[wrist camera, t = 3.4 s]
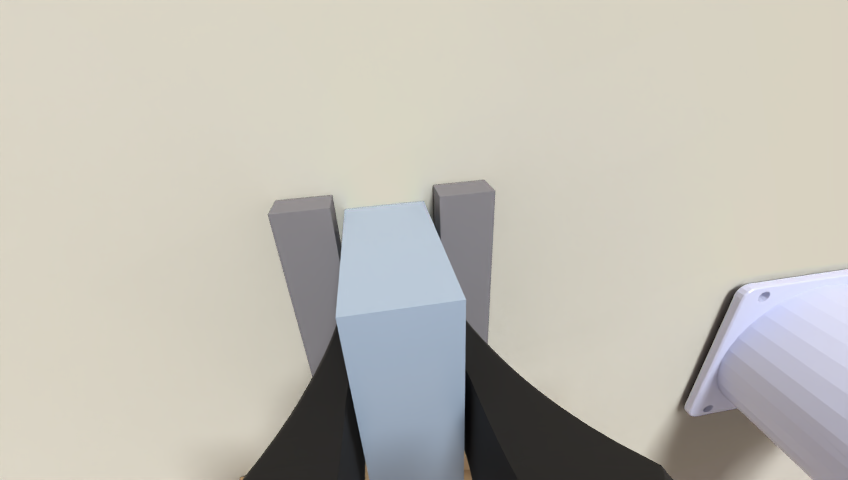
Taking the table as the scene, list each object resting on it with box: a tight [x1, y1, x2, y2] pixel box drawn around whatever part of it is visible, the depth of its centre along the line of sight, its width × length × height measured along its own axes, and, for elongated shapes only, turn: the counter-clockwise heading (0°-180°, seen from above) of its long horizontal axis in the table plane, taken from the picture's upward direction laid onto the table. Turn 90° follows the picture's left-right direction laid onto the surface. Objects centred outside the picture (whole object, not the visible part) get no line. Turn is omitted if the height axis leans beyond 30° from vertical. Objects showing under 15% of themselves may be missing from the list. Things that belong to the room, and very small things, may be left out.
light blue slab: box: [336, 201, 466, 480], centre depth 11 cm, size 2×8×5 cm, turn 3°
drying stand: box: [268, 180, 495, 377], centre depth 12 cm, size 6×9×1 cm
